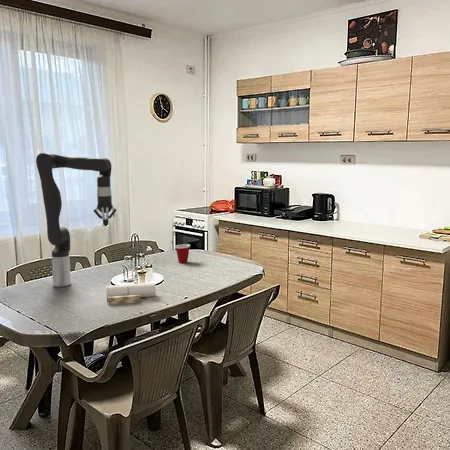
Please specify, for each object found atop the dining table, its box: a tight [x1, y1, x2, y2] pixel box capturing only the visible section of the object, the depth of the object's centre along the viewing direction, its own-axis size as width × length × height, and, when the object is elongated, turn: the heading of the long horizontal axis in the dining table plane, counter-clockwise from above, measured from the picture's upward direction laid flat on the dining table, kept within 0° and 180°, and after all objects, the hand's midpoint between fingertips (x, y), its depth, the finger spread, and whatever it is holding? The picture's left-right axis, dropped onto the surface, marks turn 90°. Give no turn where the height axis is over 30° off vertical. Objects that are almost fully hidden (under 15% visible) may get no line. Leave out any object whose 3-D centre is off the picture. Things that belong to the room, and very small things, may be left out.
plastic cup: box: [174, 243, 191, 264], centre depth 303 cm, size 11×11×12 cm
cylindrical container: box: [105, 282, 157, 300], centre depth 233 cm, size 7×7×25 cm
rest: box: [108, 295, 142, 305], centre depth 232 cm, size 16×14×4 cm
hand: (105, 225), depth 247 cm, fingers closed
